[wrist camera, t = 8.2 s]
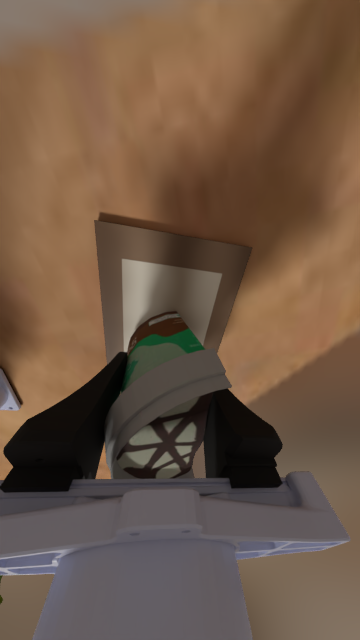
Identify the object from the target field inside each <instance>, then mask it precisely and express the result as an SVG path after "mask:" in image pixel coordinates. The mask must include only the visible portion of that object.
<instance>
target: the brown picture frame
mask: <svg viewBox="0 0 360 640" xmlns="http://www.w3.org/2000/svg"><path fill="white" fill-rule="evenodd" d="M94 223H95V234H96V245H97V256H98V267H99V278H100V290H101V301H102V312H103V323H104V334H105V346H106V357H107V364H108V363H109V362H110V361H111V360H112V359H113V358H114V357H115V356H116V355H117V354H118V353H119V352H127V350H128V345H129V341H130V338H131V336H132V335H133V333H134V332H135V331H136V329H137V328H138V326H140V325H141V324H142V323H144V322H145V321H147V320H148V319H149V318H151V317H153V316H156V315H159V314H162V313H164V312H172V311H177V313H178V314H179V315H180V316H181V318H182V319H183V320H184V322H185V323H186V324H187V326H188V327H189V328H190V330H191V331H192V332H193V334H194V335H195V336H196V338H197V339H198V340H199V342H200V343H201V344H202V346H203V347H204V348H205V349H212V348H214V349H215V351H216V353H217V352H218V349H219V346H220V343H221V340H222V337H223V334H224V331H225V328H226V325H227V322H228V319H229V316H230V313H231V310H232V307H233V304H234V301H235V298H236V295H237V292H238V289H239V286H240V283H241V280H242V277H243V274H244V271H245V268H246V265H247V262H248V259H249V256H250V253H251V250H252V247H246V246H240V245H234V244H229V243H223V242H217V241H211V240H206V239H200V238H194V237H188V236H183V235H177V234H171V233H166V232H160V231H154V230H148V229H143V228H137V227H131V226H125V225H120V224H114V223H108V222H102V221H97V220H94ZM120 393H121V392H120Z"/></svg>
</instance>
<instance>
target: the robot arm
mask: <svg viewBox="0 0 360 640" xmlns="http://www.w3.org/2000/svg"><path fill="white" fill-rule="evenodd" d="M126 363H127V352H119V353H118V354H117V355H116V356H115V357H114V358H113V359H112V360H111V361H110V362H109V363H108V364H107V365H106V366H105V367H104V368H103V369H102V370H101V371H100V372H99V373H98V374H97V375H96V376H95V377H94V378H92V379H91V380H90V381H89V382H88V383H86V384H85V385H84V386H82V387H81V388H80V389H78V390H77V391H75V392H74V393H73V394H71V395H70V396H68V397H67V398H65V399H64V400H62V401H60V402H59V403H57V404H55V405H54V406H52V407H50V408H49V409H47V410H45V411H43V412H41V413H39V414H37V415H35V416H34V417H32V418H30V419H28V420H27V421H26V422H25V423H24V424H23V425H22V426H21V427H20V428H19V430H18V431H17V432H16V433H15V435H14V436H13V437H12V438H11V440H10V441H9V442H8V444H7V445H6V446H5V447H4V451H3V452H4V455H5V457H6V458H7V459H8V460H9V462H10V463H11V464H12V466H13V468H12V470H11V471H10V473H9V474H8V475H7V477H6V478H5V480H0V575H27V574H55V575H54V578H53V582H52V584H51V587H50V590H49V593H48V595H47V598H46V601H45V604H44V607H43V610H42V613H41V616H40V618H39V622H38V624H37V627H36V630H35V633H34V636H33V639H32V640H253V638H252V633H251V628H250V623H249V618H248V613H247V608H246V603H245V598H244V594H243V589H242V584H241V579H240V574H239V569H238V564H237V560H239V559H246V558H255V557H263V556H271V555H280V554H288V553H298V552H308V551H321V550H324V549H327V548H330V547H333V546H336V545H339V544H342V543H345V542H348V541H350V537H349V535H348V533H347V532H346V530H345V528H344V527H343V525H342V523H341V522H340V520H339V519H338V517H337V515H336V513H335V512H334V510H333V508H332V507H331V505H330V503H329V502H328V500H327V498H326V497H325V495H324V493H323V492H322V490H321V488H320V487H319V485H318V483H317V481H316V480H315V478H314V477H313V475H312V473H311V472H309V471H295V472H290V473H289V474H287V475H286V477H285V478H283V477H280V476H279V474H278V472H277V470H276V468H275V467H276V466H277V464H276V461H275V459H274V457H275V456H276V455H277V454H278V453H279V452H280V450H281V449H282V445H283V444H282V442H281V440H280V438H279V436H278V434H277V433H276V431H275V429H274V428H273V427H272V426H271V425H269V424H268V423H267V422H265V421H264V420H262V419H261V418H260V417H258V416H257V415H256V414H255V413H253V412H252V411H251V410H249V409H248V408H247V407H246V406H245V405H244V404H243V403H242V402H240V401H239V400H238V399H237V398H236V397H235V396H234V395H233V394H232V393H231V392H230V391H229V389H228V388H226V389H222V390H218V391H214V392H213V395H212V398H211V402H210V405H209V409H208V414H207V420H206V427H205V433H204V438H203V441H204V454H205V468H206V478H178V479H95V477H96V473H97V469H98V465H99V461H100V457H101V453H102V450H103V446H104V442H105V437H104V424H105V420H106V416H107V414H108V412H109V410H110V408H111V406H112V405H113V404H114V402H115V401H116V400H117V398H118V397H119V395H120V392H121V388H122V382H123V377H124V373H125V368H126ZM20 408H21V405H20V403H19V401H18V399H17V397H16V395H15V393H14V391H13V390H12V388H11V386H10V384H9V382H8V380H7V378H6V376H5V374H4V372H3V370H2V369H1V368H0V410H19V409H20Z"/></svg>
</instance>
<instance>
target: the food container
mask: <svg viewBox="0 0 360 640" xmlns="http://www.w3.org/2000/svg"><path fill="white" fill-rule="evenodd" d="M225 372H226V370H225V368H224V367H223V365H222V363H221V361H220V359H219V357H218V355H217V353H216V351H215V349H214V348H212V349H205V348H204V347H203V346H202V344H201V343H200V342H199V340H198V339H197V338H196V336H195V335H194V334H193V332H192V331H191V330H190V328H189V327H188V326H187V324H186V323H185V322H184V320H183V319H182V318H181V316H180V315H179V314H178V313H177V311H172V312H164V313H162V314H159V315H156V316H153V317H151V318H149V319H148V320H147V321H145V322H144V323H142V324H141V325H140V326H138V328H137V329H136V331H135V332H134V333H133V335H132V336H131V338H130V341H129V345H128V350H127V363H126V368H125V373H124V377H123V382H122V388H121V394H120V396H119V397H118V398H117V400H116V401H115V402H114V404H113V405H112V406H111V408H110V410H109V412H108V414H107V416H106V420H105V424H104V437H105V450H106V462H107V465H108V467H109V469H110V471H111V478H112V479H178V478H194V474H193V469H192V465H193V458H194V455H195V453H196V451H197V450H198V448H199V447H200V445H201V443H202V442H203V438H204V433H205V427H206V420H207V414H208V409H209V405H210V402H211V398H212V395H213V392H214V391H218V390H222V389H226V388H231V387H232V385H231V384H230V382H229V381H228V379H227V377H226V376H225Z"/></svg>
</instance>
